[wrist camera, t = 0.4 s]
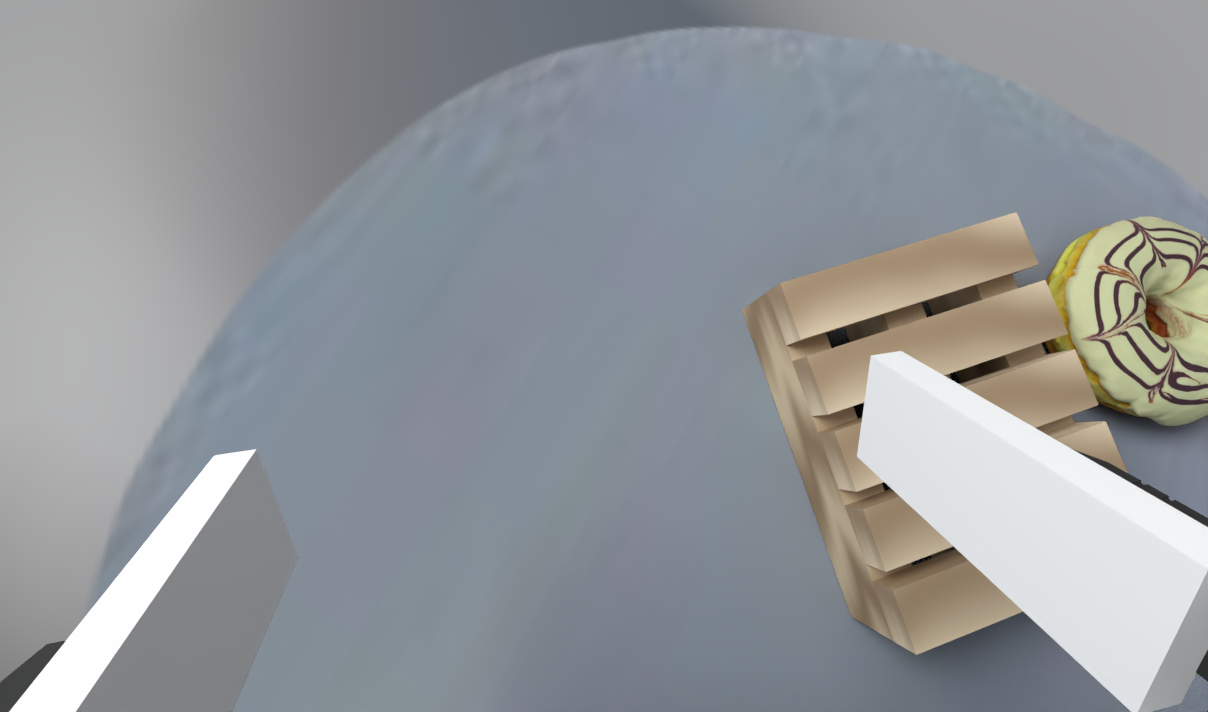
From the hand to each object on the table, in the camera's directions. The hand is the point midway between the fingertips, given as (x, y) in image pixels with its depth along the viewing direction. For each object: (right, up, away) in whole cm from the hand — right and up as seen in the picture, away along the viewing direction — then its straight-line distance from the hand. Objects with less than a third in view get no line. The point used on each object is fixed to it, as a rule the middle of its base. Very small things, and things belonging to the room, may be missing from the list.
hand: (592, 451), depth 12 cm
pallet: (+16, -1, +17) cm, 23 cm away
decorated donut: (+29, +4, +19) cm, 35 cm away
